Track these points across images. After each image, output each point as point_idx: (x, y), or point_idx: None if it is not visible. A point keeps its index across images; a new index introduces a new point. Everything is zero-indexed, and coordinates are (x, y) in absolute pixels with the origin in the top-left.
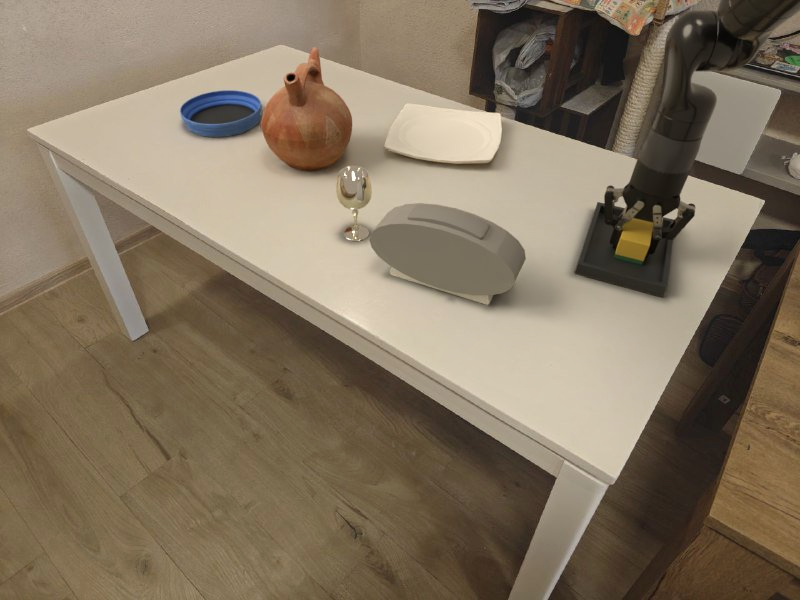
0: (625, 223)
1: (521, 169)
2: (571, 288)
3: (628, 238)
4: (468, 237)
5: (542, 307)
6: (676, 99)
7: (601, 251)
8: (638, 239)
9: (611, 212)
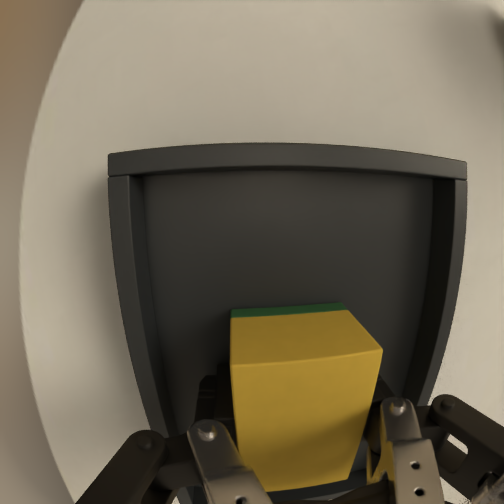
0: (390, 434)
1: None
2: (426, 89)
3: (347, 371)
4: None
5: (447, 12)
6: None
7: (382, 319)
8: (297, 387)
9: (475, 435)
